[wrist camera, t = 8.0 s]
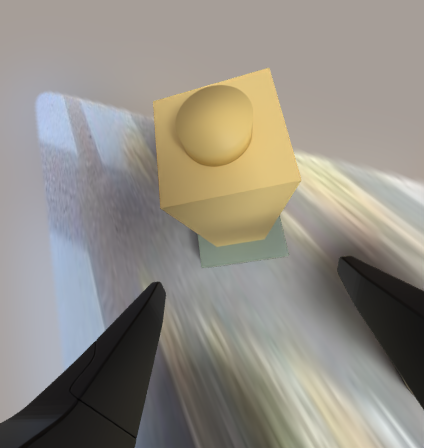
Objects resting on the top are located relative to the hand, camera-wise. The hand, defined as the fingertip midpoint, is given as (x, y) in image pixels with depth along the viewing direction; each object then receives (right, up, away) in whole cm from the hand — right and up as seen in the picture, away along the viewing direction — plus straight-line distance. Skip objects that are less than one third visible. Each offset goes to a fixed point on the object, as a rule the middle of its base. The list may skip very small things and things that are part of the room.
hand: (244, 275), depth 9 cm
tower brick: (+1, +3, +8) cm, 9 cm away
